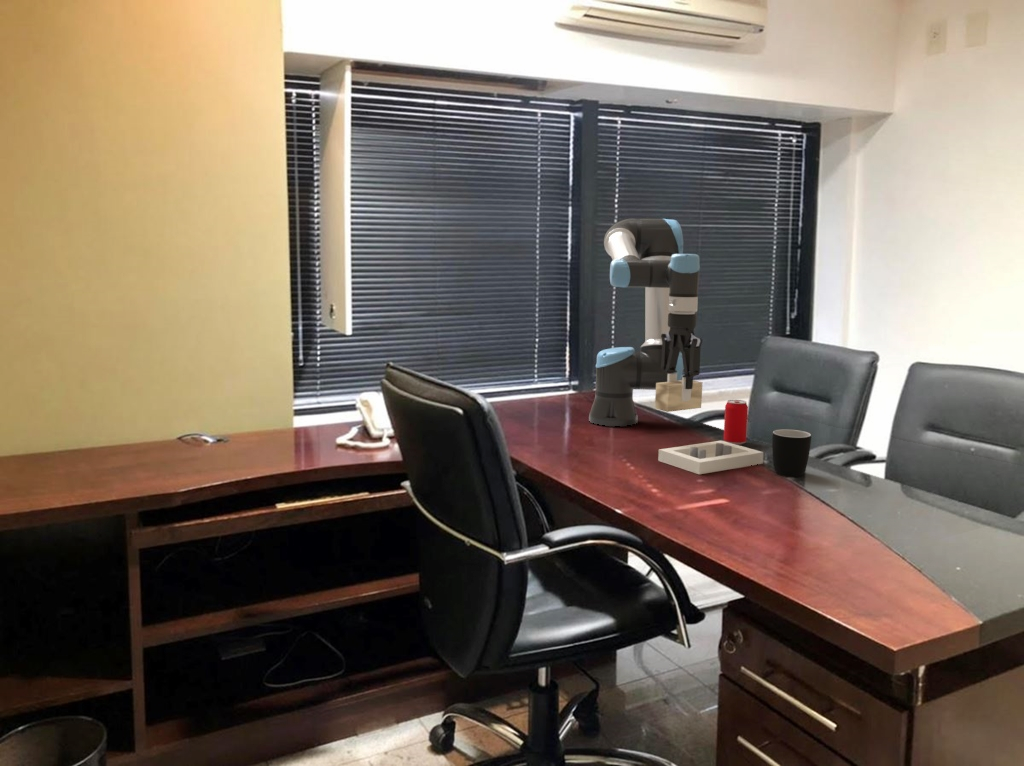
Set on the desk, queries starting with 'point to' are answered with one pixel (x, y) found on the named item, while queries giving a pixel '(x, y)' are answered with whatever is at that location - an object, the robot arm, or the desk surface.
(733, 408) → the beverage can
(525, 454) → the desk surface
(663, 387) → the wooden block
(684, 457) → the peg frame
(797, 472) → the mug
